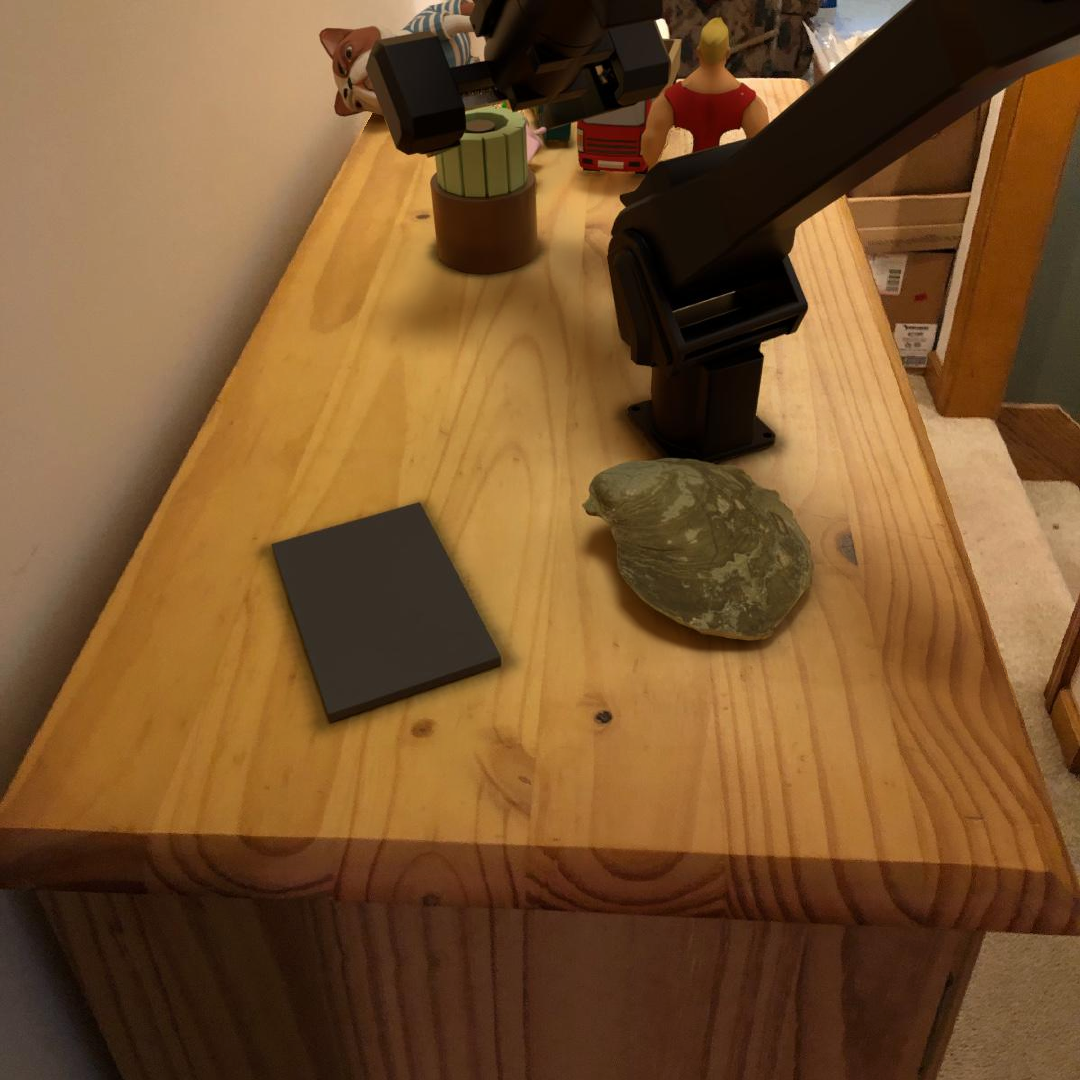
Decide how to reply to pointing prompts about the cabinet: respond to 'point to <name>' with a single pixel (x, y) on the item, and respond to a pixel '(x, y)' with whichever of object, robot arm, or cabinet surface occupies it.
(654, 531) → the seashell
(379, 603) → the pad
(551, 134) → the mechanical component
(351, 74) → the figurine
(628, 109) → the toy truck
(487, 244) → the stand
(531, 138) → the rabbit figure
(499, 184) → the ring
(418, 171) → the cabinet surface
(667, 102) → the action figure
